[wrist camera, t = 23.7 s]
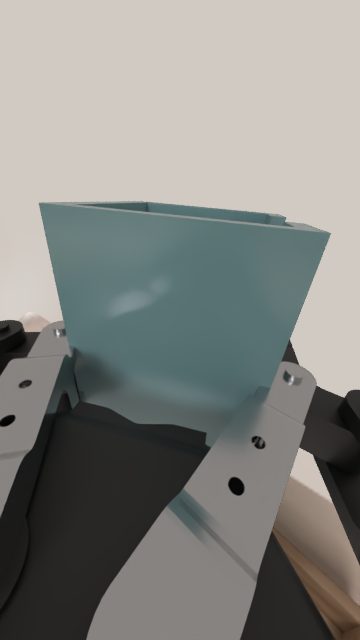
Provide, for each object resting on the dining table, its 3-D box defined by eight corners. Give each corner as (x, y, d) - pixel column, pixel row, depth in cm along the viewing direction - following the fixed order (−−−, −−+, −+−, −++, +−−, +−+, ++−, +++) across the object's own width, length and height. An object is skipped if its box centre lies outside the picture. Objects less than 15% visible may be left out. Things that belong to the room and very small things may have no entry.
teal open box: (219, 518, 10) (330, 233, 4) (97, 479, 11) (38, 202, 5) (225, 409, 15) (278, 214, 9) (142, 389, 16) (140, 201, 10)
